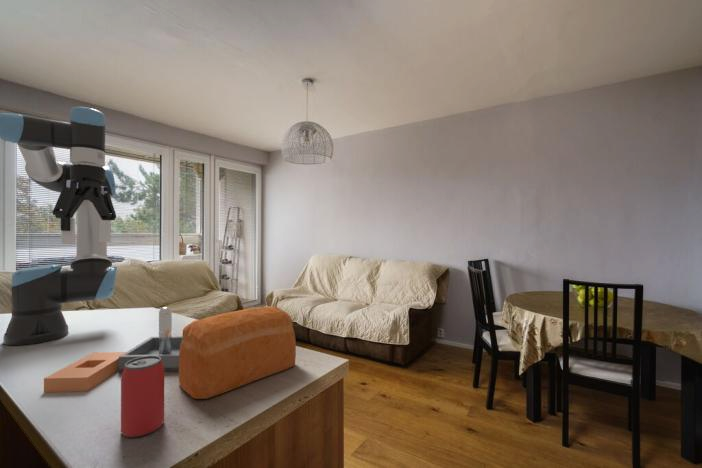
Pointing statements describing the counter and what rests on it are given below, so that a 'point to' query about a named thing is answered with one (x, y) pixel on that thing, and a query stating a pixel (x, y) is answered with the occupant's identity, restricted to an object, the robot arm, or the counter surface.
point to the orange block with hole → (84, 373)
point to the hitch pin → (165, 331)
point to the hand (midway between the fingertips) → (88, 243)
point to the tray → (154, 353)
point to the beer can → (142, 396)
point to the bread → (235, 350)
